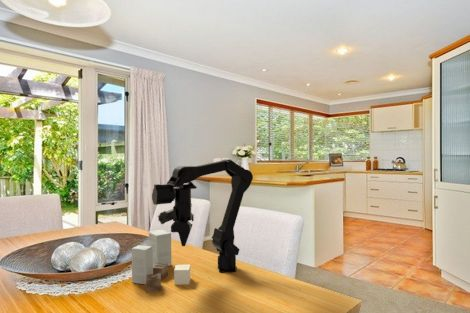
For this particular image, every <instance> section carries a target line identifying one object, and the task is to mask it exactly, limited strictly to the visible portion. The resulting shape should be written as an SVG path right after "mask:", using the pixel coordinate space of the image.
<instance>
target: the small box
mask: <svg viewBox="0 0 470 313" xmlns="http://www.w3.org/2000/svg"><path fill="white" fill-rule="evenodd" d="M148 246H152V247H153V265H155V264H156V263H161V264H168V267H169V266H172V232H169V231H166V230H164V229H157V230H152V231H148Z"/></svg>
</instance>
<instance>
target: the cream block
mask: <svg viewBox="0 0 470 313" xmlns="http://www.w3.org/2000/svg"><path fill="white" fill-rule="evenodd" d="M173 280H174V282H173V284H174V286H176V285H180V286H181V285H190V282H191V264H176V265H175V267H174V270H173Z"/></svg>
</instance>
